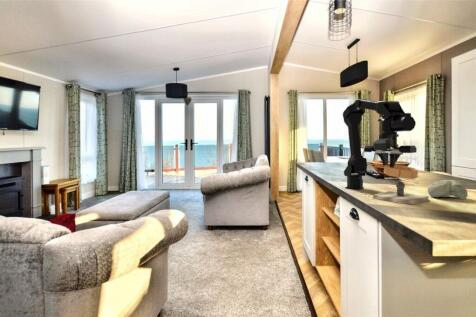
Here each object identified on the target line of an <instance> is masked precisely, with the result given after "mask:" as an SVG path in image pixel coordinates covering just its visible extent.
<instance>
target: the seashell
mask: <svg viewBox="0 0 476 317" xmlns="http://www.w3.org/2000/svg"><path fill="white" fill-rule="evenodd" d="M426 191H427V193H428V195H429V196H430V197H432V198H439V197H441V198H448V197H451V196H453V197H455V198H458V199H460V200H466V199H467V197H468V190H467V188H466V187H465V186H464V185H463V184H462V183H461V182H459V181H457V180H454V179H443V180H437V181H434V182H432V183H430V184H429V185H428V186H427V189H426Z"/></svg>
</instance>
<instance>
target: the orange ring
mask: <svg viewBox="0 0 476 317" xmlns="http://www.w3.org/2000/svg"><path fill="white" fill-rule="evenodd" d="M418 173H419V170H418V169H416V168H414V167H411V166H406V165H399V164H395V165H394V167H393V168H392V167H390V164H388V165H385V166H383V174H385V175H387V176H390V177H392V178H398V179H399V178H400V179H407V180H413V179H414V180H415V179H417V178H418V175H419V174H418Z"/></svg>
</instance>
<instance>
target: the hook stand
mask: <svg viewBox="0 0 476 317" xmlns="http://www.w3.org/2000/svg"><path fill="white" fill-rule="evenodd" d="M405 186H406V184H405V183H404V182H402V181H398V182H397V183H396V184H395V187H396V191H391V190H389V191H385V192H379V193H375V194H373V195H372V197H373V198H372V199H375V200H380V201H386V202H392V203H393V202H394V203H399V204H405V205H410V204H411V206H415V205H417V204H421V203H423V202H427V201H429V196H430V195H429V196H428V195H421V194H415V193H408V192H407V193H406V192H405Z"/></svg>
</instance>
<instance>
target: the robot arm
mask: <svg viewBox="0 0 476 317" xmlns="http://www.w3.org/2000/svg"><path fill="white" fill-rule="evenodd" d="M366 110H369V111H375V112H376V113H377V115H381V116H380V117H379V118H378V120H377V121H378V122H380V123H381V126H380V127H381V133H380V134H379V137H378V139H376V140H375V141H373V143H372V144H370V145H365V146H364V147H363V148H364V149H363V151H364V152H363V153H373V152H375V153H374V154H375V155H377V156H378V158H380V160H381V163H382V166H383V167H384V166H385V165H390V167H392V168H393V167H394V165H396V163H397V162H398V160H399V158H400V157H401V155H402V156H403V155H404V154H416V153H417V151H418V150H417V147H416V145H407V144H406V145H400V146H399V144H398V138H399V136H400V134H398V132H411V131H413V130H414V129H415V127H416V124H417V122H416V120H415V118H414V116H412V113H411V112H405V111H404V109H403V108H402V105H401V104H400V101H398V100H381V101H376V100H369V99H367V98H366V99H365V98H357V99H356V100H355V101H354V102H353V103H351V104H350V105H348V106H347V107H346V108H345V109H344V111H343V112H342V119H343V123H344V124H345V125H346V127H347V128H348V129H347V130H348V131H347V133H348V143H349V153H350V155H349V158H348V159H347V166H346V168H345V169H344V171H343V175H344V176H345V177H346V183H347V184H346V186H345V187H344V189H350V190H361V189H364V188H365V187H364V179H363V177H365V176H366V174H367V170H368V161H367V160H368V159H367V157H364V156H363V154H362V147H361V137H360V136H361V134H360V124H361V122H362V118H363V115H364V114H365V113H366ZM390 152H391V153H390ZM389 157H390V158H389ZM344 176H343V177H344Z"/></svg>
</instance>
